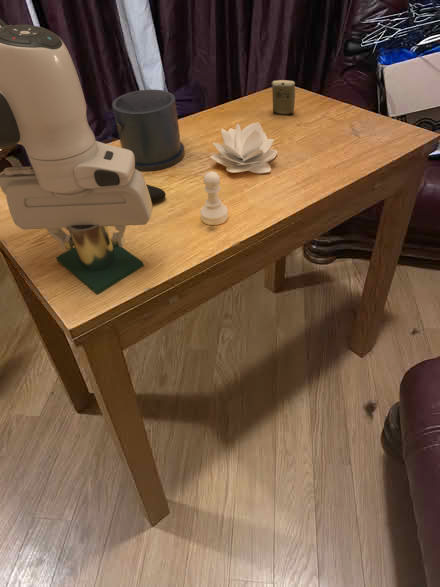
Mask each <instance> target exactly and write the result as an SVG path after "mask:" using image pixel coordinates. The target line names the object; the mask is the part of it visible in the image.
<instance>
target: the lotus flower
mask: <svg viewBox="0 0 440 587" xmlns="http://www.w3.org/2000/svg"><path fill="white" fill-rule="evenodd" d="M220 131H221V137H222V140H223V142H222V143H221V144H220V143H218V142H212V143H211V144H212V145H213V147H214V148H215V149H216V150H217V151H218V152H219V153H213V154H211V155H210V156H209V159H211V160H212V161H213V162H216V163H218V164H219V165H221V166H224V167H226V168H225V170H226V171H227V172H228V173H230V174H233V173H234V174H236V173H243V172H249V173H252V174H259V175H260V174H267V173H271V171H272V168H271V166H270V164H269V163H268V162H270V161H273V160H274V159H275V158H276V156H277V154H278V152H279V151H278V150H276V149H274V148H272V145H273V144H274V141H275V139H274V138H268V136H267V134H266V132H265V131H264V130H263V127H262V126H261V124H260V121H257V122H252V123H249V124H248V125H246V126H245V127H244V128H242V129H241V125H240V124H239V123H236V125H235V128H229V129H228V131H227V130H226V129H224V128H221V129H220Z"/></svg>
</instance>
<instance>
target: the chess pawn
mask: <svg viewBox="0 0 440 587" xmlns="http://www.w3.org/2000/svg"><path fill="white" fill-rule="evenodd" d="M220 183H221V178H220V175H219V173H218V172H216V171H208V172H206V173H205V174H204V176H203V184H204V188H203V190H204V192H205V193H207V199H206V200H205V202H204V205H202V207H201V208H200V209H199V213H200V220H201V221H202V223H203V224H206V225H209V226H219V225H221V224H223V223H225V222H226V221H227V220H228V219H229V209H228V206H226V205H225V204H223V202H222V200H221V198H219V195H218V193H219V192H220V191H221V189H222V188H221V186H220Z"/></svg>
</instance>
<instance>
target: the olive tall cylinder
mask: <svg viewBox="0 0 440 587" xmlns="http://www.w3.org/2000/svg"><path fill="white" fill-rule="evenodd" d="M295 85H296V82H295V81H294V80H286V79H279V80H272V81H271V89H272V113H273V115H276V116H277V115H278V116H279V115H281V116H293V115H294V114H295V103H296V102H295V101H296V87H295Z"/></svg>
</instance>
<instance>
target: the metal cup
mask: <svg viewBox="0 0 440 587" xmlns="http://www.w3.org/2000/svg"><path fill="white" fill-rule="evenodd" d="M65 229H66V230H67V231H68V233H69V234H70V235H71V238H72V241H73V244H74V246H73V247H75V249H76V252H77V255H78V257H79V260H80V263H81V265H82V267H83V268H84V269H86V270H88V271H100V270H104V269H106V268H108V267H109V266H111V265H112V264H113V263H114V261H115V258H116V256H115V252H114V249H113V245H112V242H111V239H112V237H111V235H110V232H109V228H108V226H102V227H100V226H99V225H75V226H66V228H65Z"/></svg>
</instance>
